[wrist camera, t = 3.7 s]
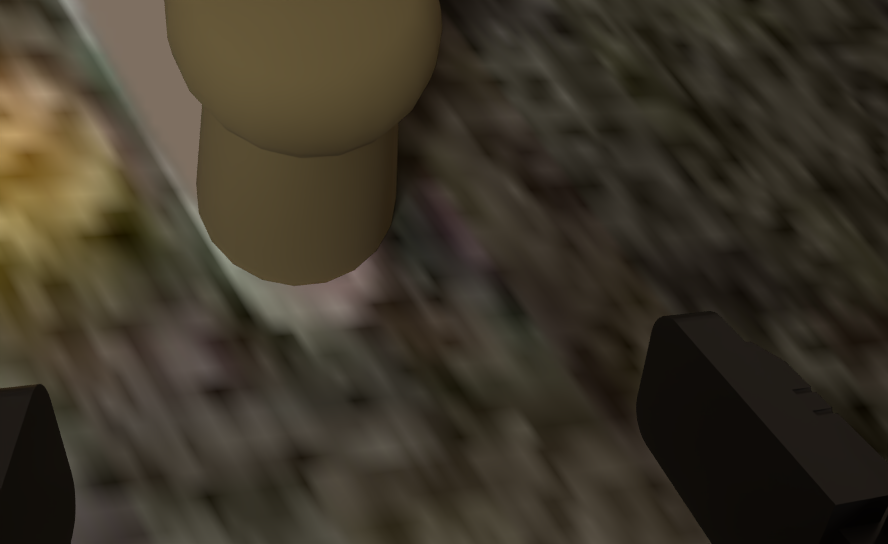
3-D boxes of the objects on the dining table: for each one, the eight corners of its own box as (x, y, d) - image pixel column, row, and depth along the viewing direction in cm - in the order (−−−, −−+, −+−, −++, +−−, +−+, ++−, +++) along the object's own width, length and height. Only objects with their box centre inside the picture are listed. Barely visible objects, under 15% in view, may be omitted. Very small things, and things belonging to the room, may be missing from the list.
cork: (204, 92, 24) (142, -208, 13) (397, 109, 25) (479, -154, 14) (188, 280, 22) (102, 109, 12) (394, 290, 23) (484, 141, 13)
